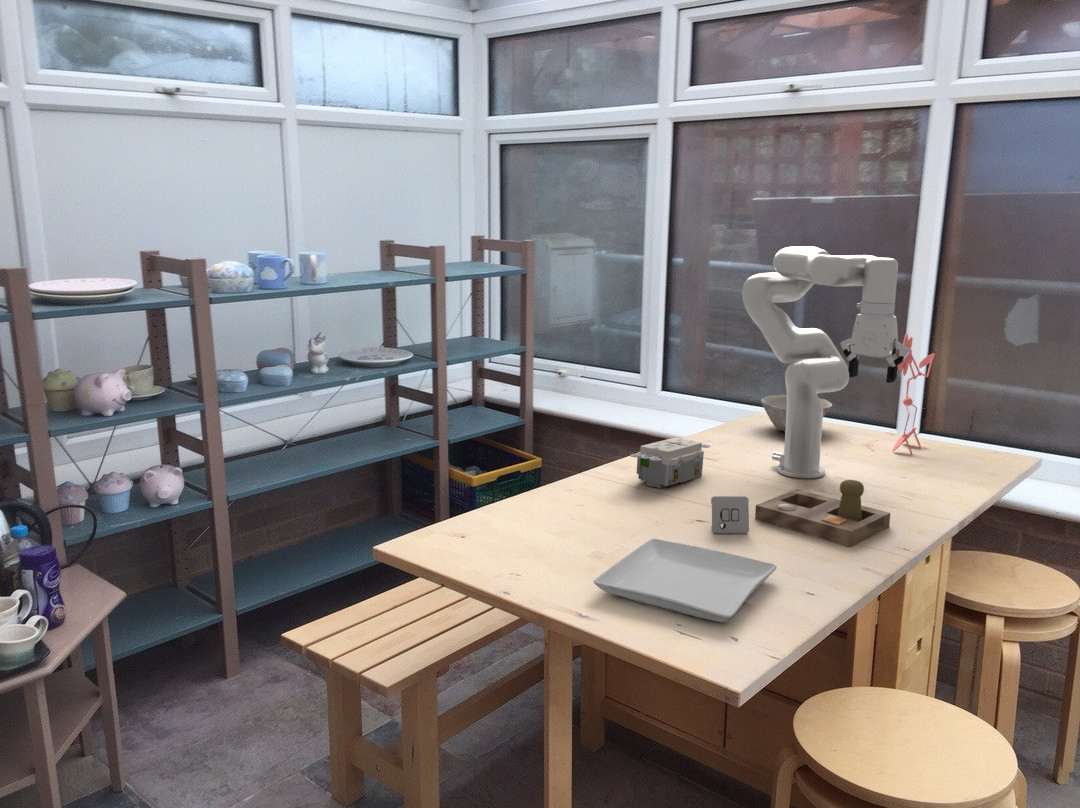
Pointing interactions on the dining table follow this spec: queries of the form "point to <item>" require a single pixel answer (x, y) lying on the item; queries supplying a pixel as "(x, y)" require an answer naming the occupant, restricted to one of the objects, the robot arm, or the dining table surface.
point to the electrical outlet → (669, 462)
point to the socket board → (820, 517)
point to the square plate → (686, 579)
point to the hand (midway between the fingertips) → (871, 379)
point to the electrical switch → (730, 514)
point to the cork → (851, 500)
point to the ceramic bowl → (784, 409)
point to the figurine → (908, 400)
